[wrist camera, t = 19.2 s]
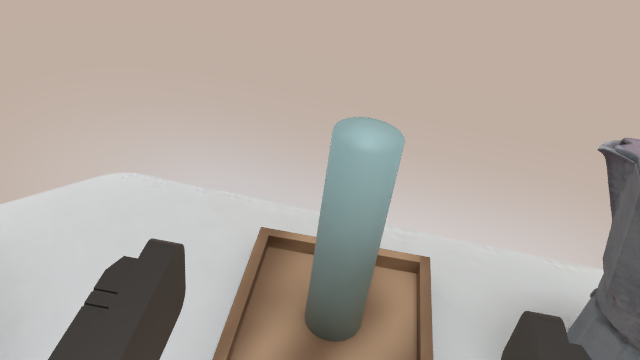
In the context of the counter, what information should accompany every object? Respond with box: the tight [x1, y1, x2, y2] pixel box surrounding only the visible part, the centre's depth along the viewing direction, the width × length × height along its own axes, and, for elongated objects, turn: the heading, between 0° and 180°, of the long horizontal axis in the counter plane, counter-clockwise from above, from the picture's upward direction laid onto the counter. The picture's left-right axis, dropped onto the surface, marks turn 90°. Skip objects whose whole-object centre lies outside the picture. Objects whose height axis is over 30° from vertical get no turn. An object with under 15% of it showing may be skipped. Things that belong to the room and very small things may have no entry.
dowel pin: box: [305, 117, 405, 341], centre depth 35 cm, size 4×4×15 cm
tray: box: [213, 227, 433, 360], centre depth 39 cm, size 14×14×2 cm
